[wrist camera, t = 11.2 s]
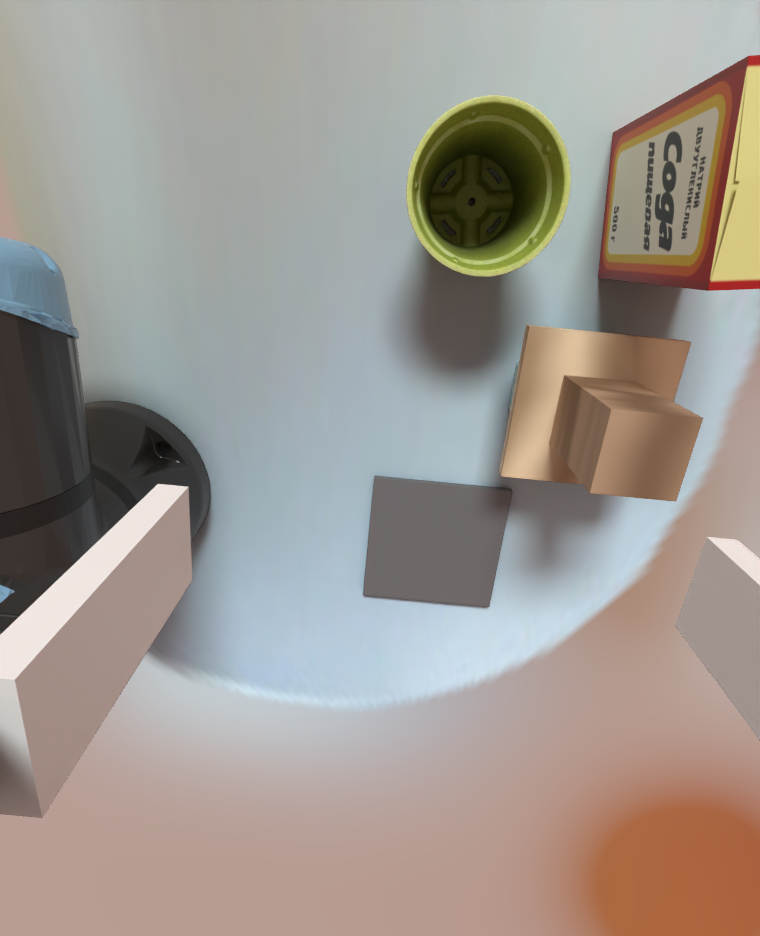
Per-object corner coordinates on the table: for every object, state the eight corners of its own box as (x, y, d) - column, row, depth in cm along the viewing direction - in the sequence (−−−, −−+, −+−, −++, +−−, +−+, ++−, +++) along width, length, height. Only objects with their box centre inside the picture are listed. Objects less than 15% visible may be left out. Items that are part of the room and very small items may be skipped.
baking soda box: (612, 132, 37) (754, 52, 23) (709, 127, 37) (916, 43, 22) (597, 277, 41) (712, 291, 26) (686, 274, 41) (852, 286, 26)
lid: (498, 471, 42) (527, 534, 32) (526, 324, 38) (568, 347, 28) (641, 485, 42) (711, 551, 32) (683, 340, 38) (778, 368, 28)
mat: (363, 591, 52) (363, 594, 51) (374, 475, 47) (374, 478, 47) (488, 603, 52) (489, 607, 51) (510, 488, 47) (512, 491, 47)
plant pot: (472, 298, 42) (490, 309, 34) (378, 212, 40) (374, 201, 32) (562, 194, 39) (605, 179, 31) (467, 96, 37) (486, 52, 29)
